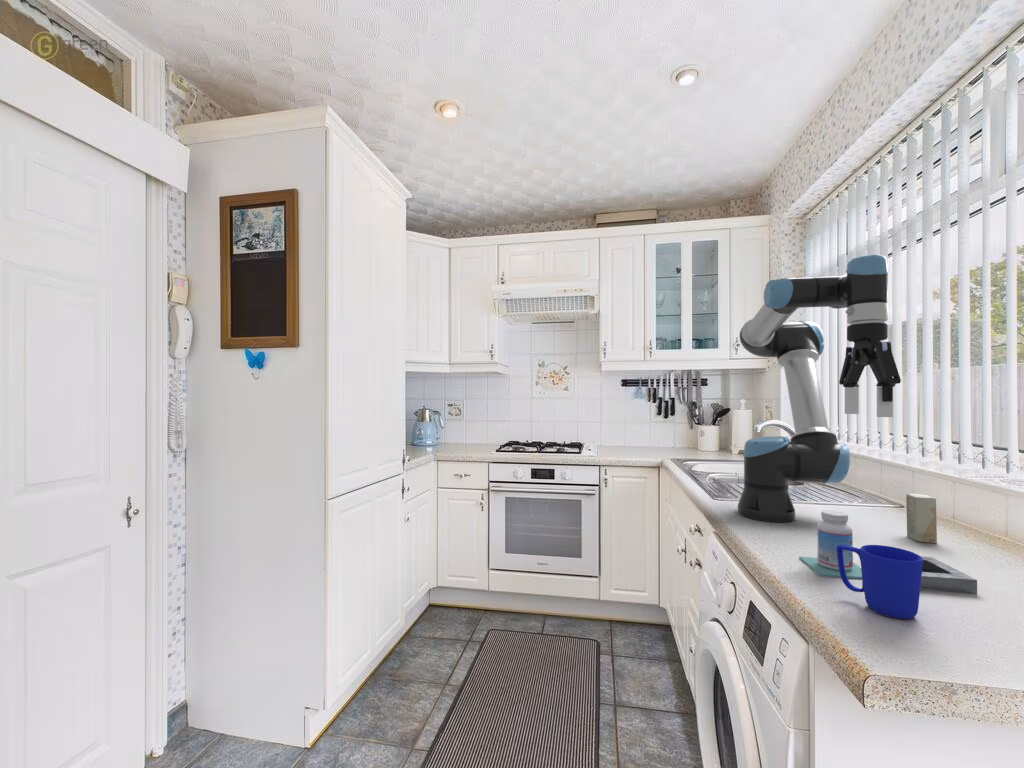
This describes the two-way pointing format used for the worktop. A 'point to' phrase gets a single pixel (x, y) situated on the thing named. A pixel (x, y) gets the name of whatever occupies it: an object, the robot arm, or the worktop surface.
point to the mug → (887, 579)
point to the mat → (823, 571)
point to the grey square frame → (945, 578)
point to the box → (921, 518)
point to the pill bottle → (834, 539)
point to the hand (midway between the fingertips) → (867, 415)
